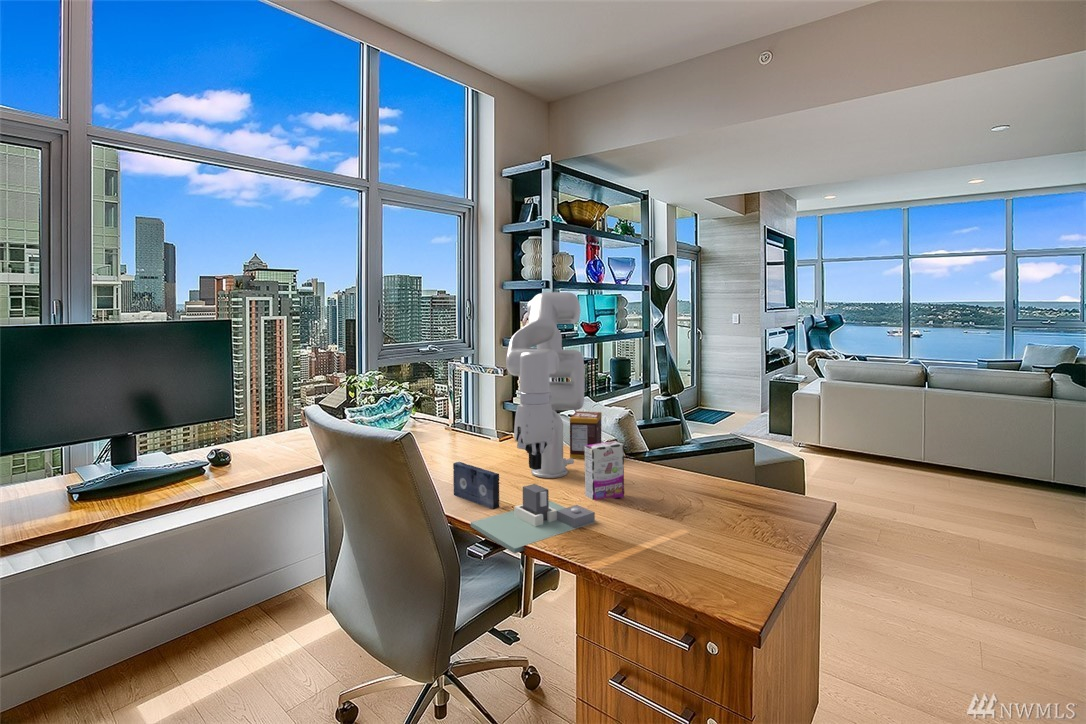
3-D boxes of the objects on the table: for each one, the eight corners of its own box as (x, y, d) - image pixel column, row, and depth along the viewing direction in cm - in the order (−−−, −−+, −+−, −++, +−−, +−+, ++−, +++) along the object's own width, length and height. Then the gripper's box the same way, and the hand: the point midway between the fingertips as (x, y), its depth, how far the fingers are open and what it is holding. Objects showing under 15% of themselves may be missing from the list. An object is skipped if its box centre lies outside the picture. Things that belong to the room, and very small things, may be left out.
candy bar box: (614, 492, 165) (615, 440, 164) (624, 497, 161) (625, 443, 159) (583, 498, 160) (583, 444, 159) (592, 504, 156) (593, 448, 154)
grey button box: (576, 513, 145) (576, 502, 145) (594, 521, 140) (594, 510, 139) (556, 519, 141) (556, 508, 141) (574, 528, 135) (574, 516, 135)
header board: (549, 504, 155) (549, 492, 155) (597, 525, 140) (597, 512, 139) (470, 526, 140) (470, 512, 139) (514, 553, 124) (514, 538, 124)
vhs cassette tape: (500, 507, 154) (499, 473, 153) (492, 510, 151) (491, 475, 151) (461, 492, 166) (460, 461, 166) (453, 495, 164) (452, 463, 163)
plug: (535, 512, 146) (534, 483, 145) (550, 520, 141) (550, 490, 140) (522, 516, 144) (522, 486, 143) (537, 523, 138) (537, 493, 138)
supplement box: (601, 449, 217) (601, 411, 216) (596, 460, 202) (596, 418, 201) (576, 448, 220) (576, 410, 218) (569, 458, 205) (569, 417, 203)
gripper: (548, 394, 147) (548, 460, 149) (502, 400, 138) (503, 470, 139) (566, 397, 141) (566, 466, 143) (519, 403, 132) (520, 477, 134)
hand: (535, 468), depth 141 cm, fingers closed
